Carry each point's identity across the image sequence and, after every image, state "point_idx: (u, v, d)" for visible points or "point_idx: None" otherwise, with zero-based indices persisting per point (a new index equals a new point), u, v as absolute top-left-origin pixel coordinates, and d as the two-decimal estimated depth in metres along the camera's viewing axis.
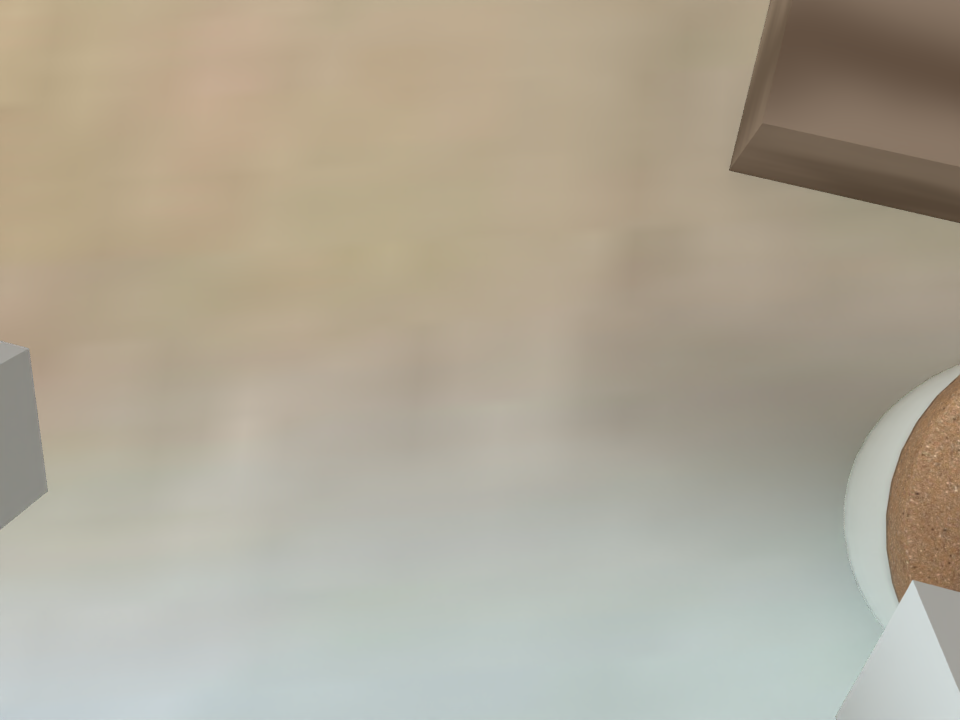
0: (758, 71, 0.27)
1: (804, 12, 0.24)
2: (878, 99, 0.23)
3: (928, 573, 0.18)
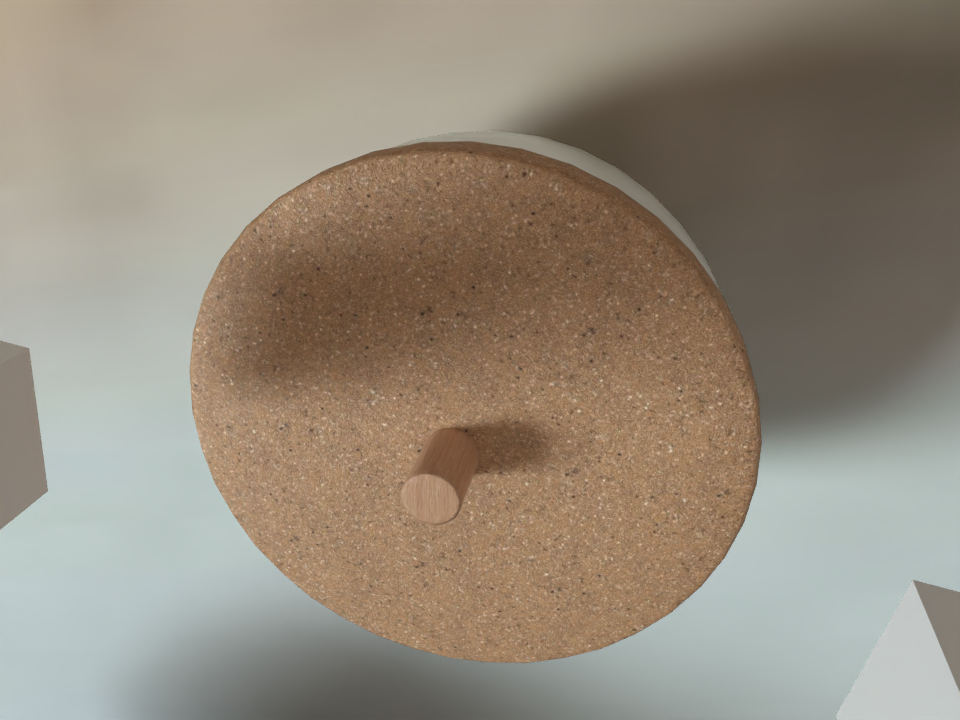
0: None
1: None
2: None
3: (223, 469, 0.15)
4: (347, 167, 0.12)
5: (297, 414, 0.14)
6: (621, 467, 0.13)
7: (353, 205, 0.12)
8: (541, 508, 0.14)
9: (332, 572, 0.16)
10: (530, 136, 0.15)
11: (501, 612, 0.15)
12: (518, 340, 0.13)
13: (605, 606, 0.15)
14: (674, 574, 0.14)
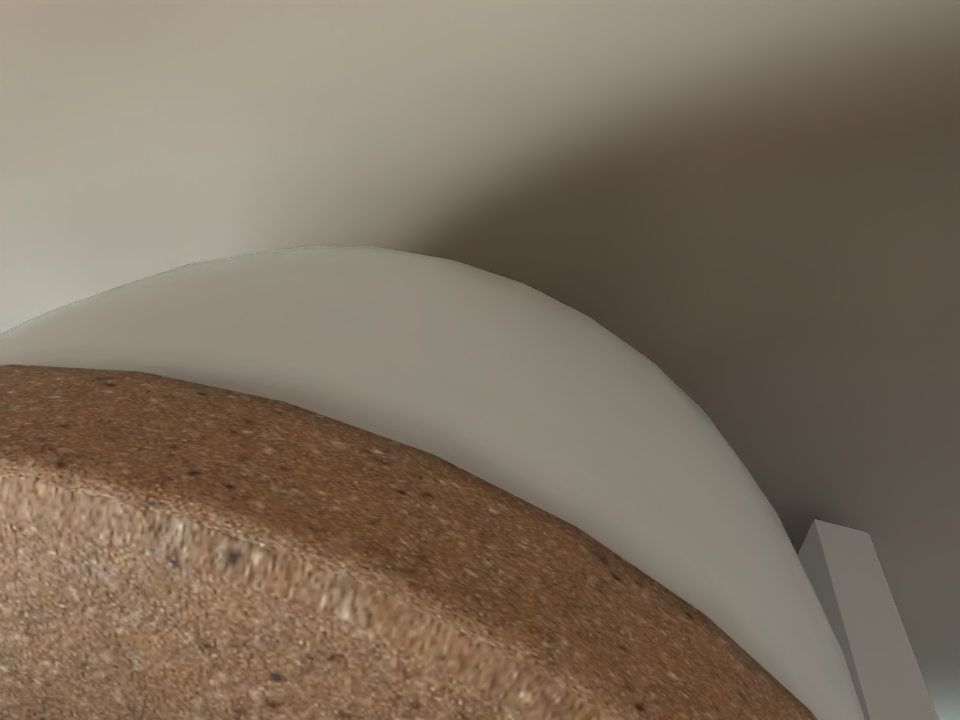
0: None
1: None
2: None
3: None
4: None
5: None
6: None
7: None
8: None
9: None
10: (389, 281, 0.06)
11: None
12: None
13: None
14: None
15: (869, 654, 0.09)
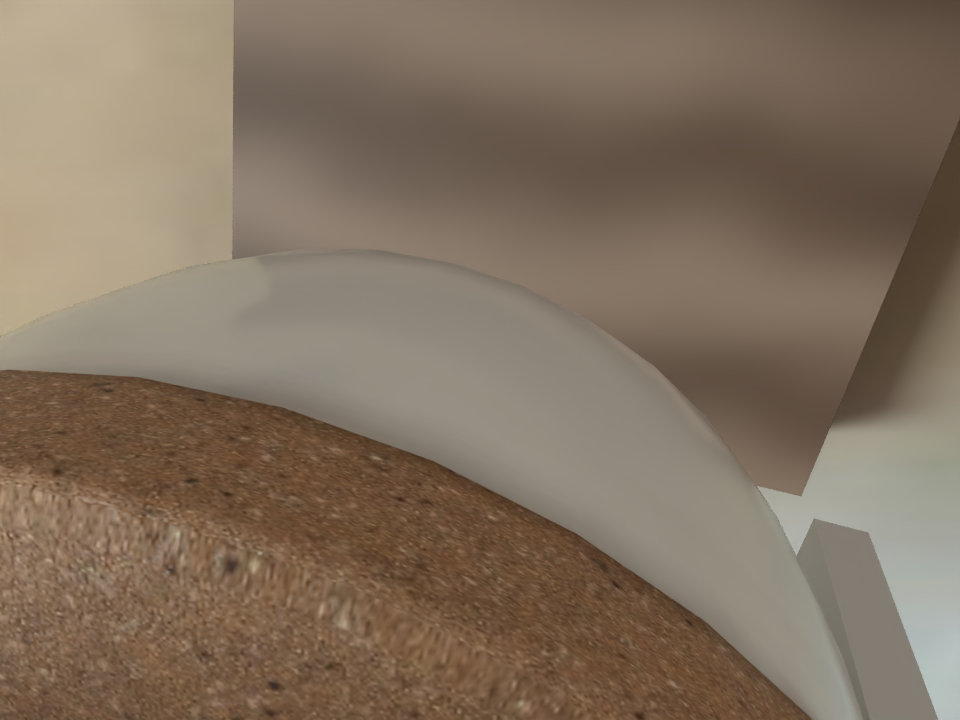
0: None
1: None
2: None
3: None
4: None
5: None
6: None
7: None
8: None
9: None
10: (389, 285, 0.06)
11: None
12: None
13: None
14: None
15: (869, 654, 0.09)
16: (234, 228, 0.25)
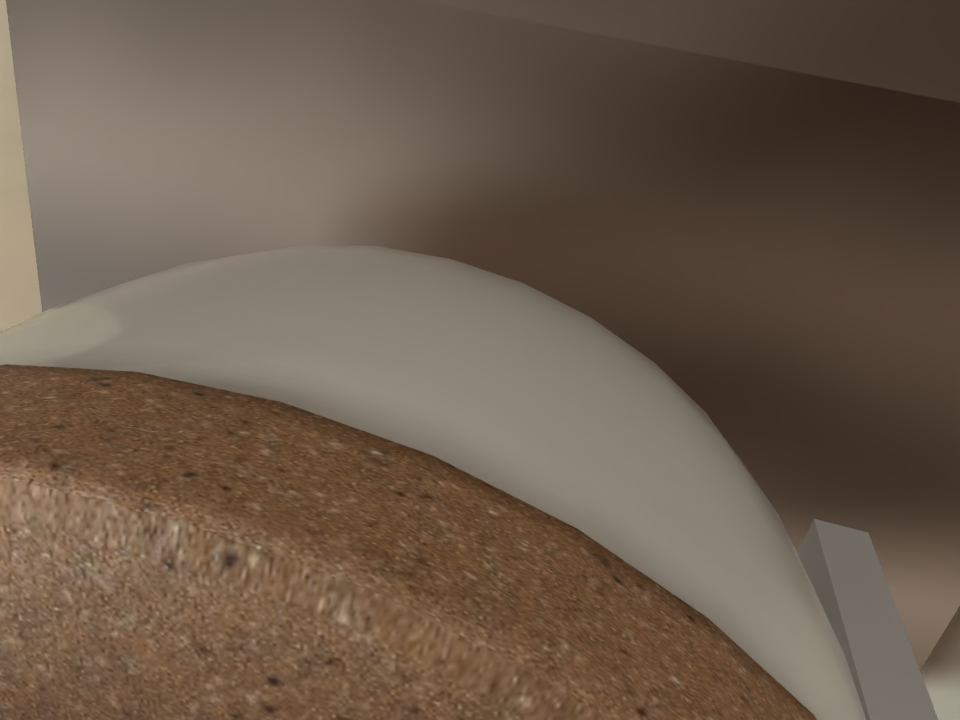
0: None
1: None
2: None
3: None
4: None
5: None
6: None
7: None
8: None
9: None
10: (388, 281, 0.06)
11: None
12: None
13: None
14: None
15: (869, 654, 0.09)
16: None
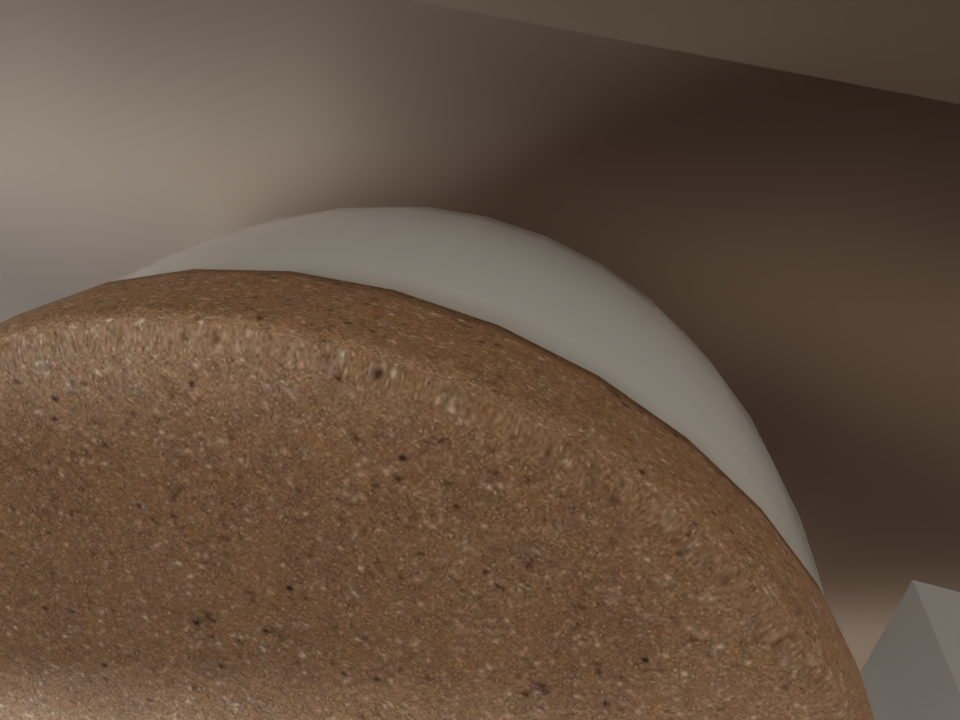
0: None
1: None
2: None
3: None
4: (11, 335, 0.06)
5: None
6: None
7: (30, 415, 0.06)
8: None
9: None
10: (446, 226, 0.08)
11: None
12: (391, 687, 0.06)
13: None
14: None
15: None
16: None
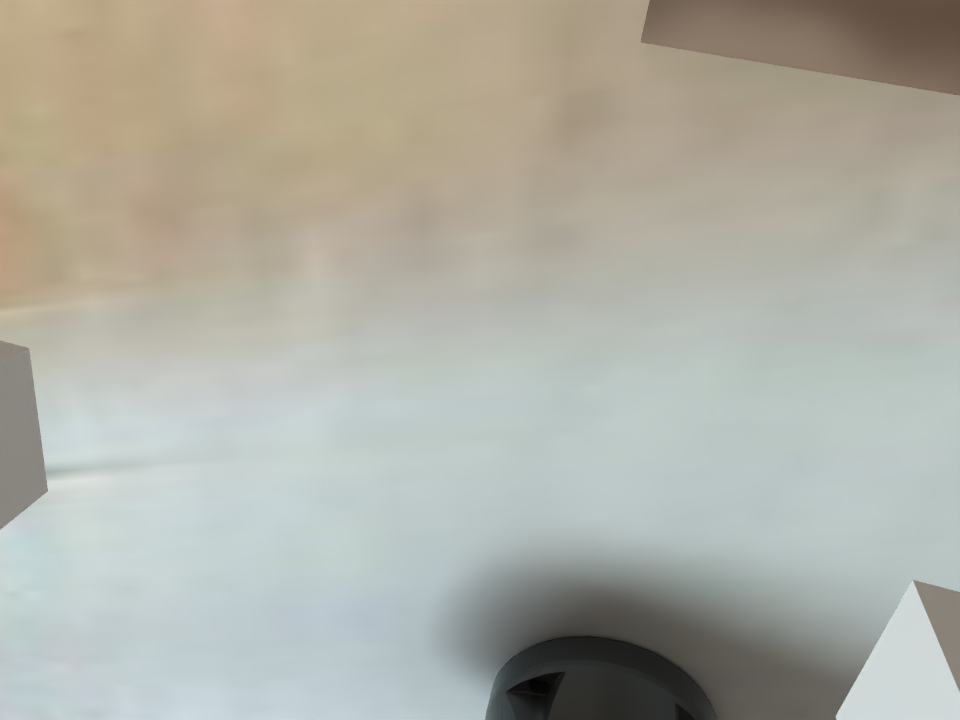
0: None
1: None
2: (737, 11, 0.28)
3: None
4: None
5: None
6: None
7: None
8: None
9: None
10: None
11: None
12: None
13: None
14: None
15: None
16: None
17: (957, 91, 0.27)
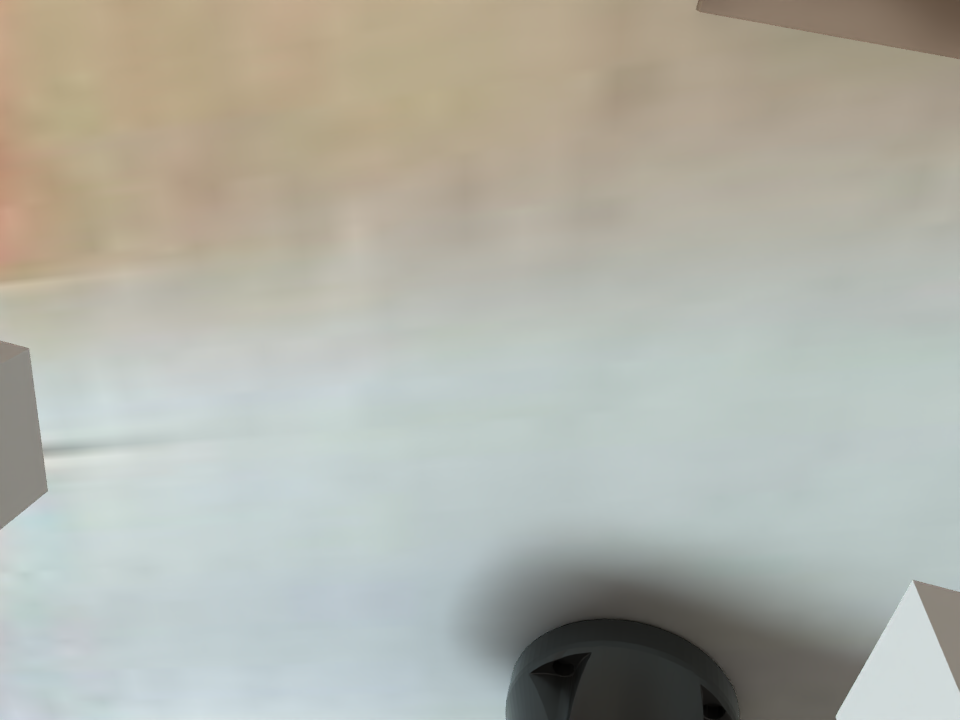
0: None
1: None
2: None
3: None
4: None
5: None
6: None
7: None
8: None
9: None
10: None
11: None
12: None
13: None
14: None
15: None
16: None
17: None
